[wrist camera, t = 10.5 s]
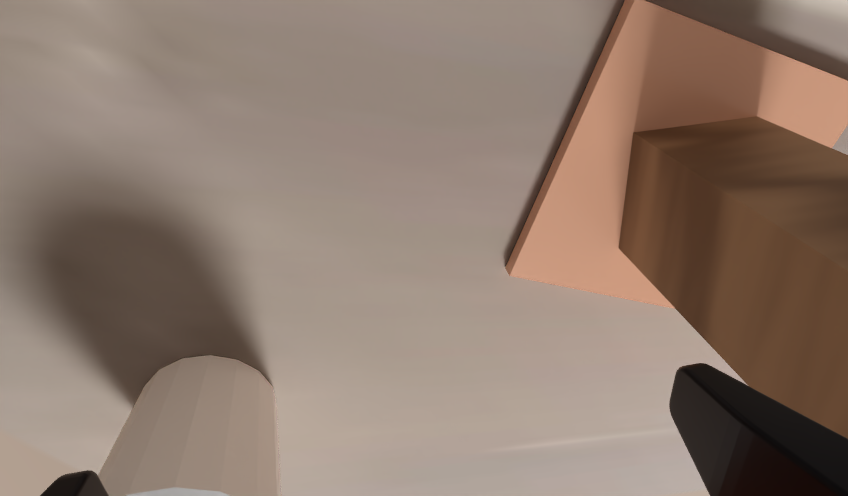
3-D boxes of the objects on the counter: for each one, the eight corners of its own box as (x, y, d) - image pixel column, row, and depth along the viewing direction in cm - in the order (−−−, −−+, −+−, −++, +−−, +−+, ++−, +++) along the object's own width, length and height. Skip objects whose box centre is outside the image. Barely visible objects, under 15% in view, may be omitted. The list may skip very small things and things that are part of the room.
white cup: (209, 315, 22) (171, 458, 16) (322, 405, 26) (325, 551, 20) (87, 404, 23) (9, 569, 17) (211, 479, 27) (181, 639, 21)
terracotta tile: (505, 267, 23) (509, 275, 23) (627, -5, 19) (635, -4, 18) (710, 309, 27) (717, 317, 26) (858, 85, 22) (871, 90, 21)
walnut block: (618, 248, 23) (860, 503, 13) (633, 132, 21) (949, 336, 10) (729, 231, 24) (1045, 463, 13) (757, 116, 21) (1173, 294, 11)
